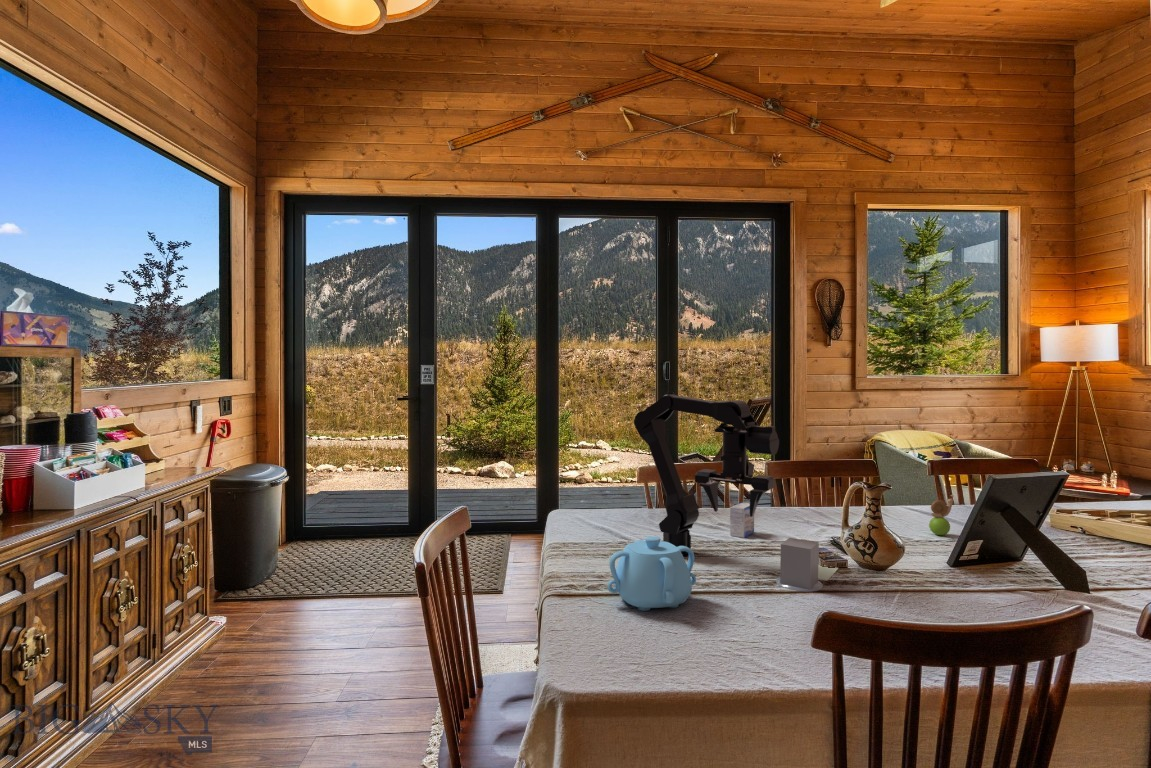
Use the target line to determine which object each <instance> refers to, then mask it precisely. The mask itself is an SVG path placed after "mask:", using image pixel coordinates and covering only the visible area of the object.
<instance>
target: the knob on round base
mask: <svg viewBox="0 0 1151 768" xmlns="http://www.w3.org/2000/svg"><path fill="white" fill-rule="evenodd" d="M775 582H776V584H777V585H778V586H780V587H782V588H784V589H787V590H790V591H795V592H796V591H797V592H809V593H810V592H817V591H821V590H822V589H823V583H822V582H821V581H819V580H818V582H817V583H816V584H815V585H814V586H813V587H812V588H811V589H810V590H809V589H804V588H799V587H794V586H790V585H785V584H780V576H779V577H777V578H776V580H775Z"/></svg>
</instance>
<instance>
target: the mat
mask: <svg viewBox="0 0 1151 768" xmlns="http://www.w3.org/2000/svg"><path fill="white" fill-rule="evenodd" d="M820 565H821V564H819V563H818V580H822V581H827V582H828V581H829V580H830V578H832V576H833V575H834V574H835V573H836V571H837V570H839V567H835V568H828V567H822V566H820Z"/></svg>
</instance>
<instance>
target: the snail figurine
mask: <svg viewBox="0 0 1151 768" xmlns="http://www.w3.org/2000/svg"><path fill="white" fill-rule="evenodd" d="M950 497H951V498H948V499H947V503H946V502H945V501H943V500H941V499H938V500H937V499H936V500H934V501H932V503H931V505H930V510H931V513H930V514H931V515H932V516H933V518H932V519H930V521H929V523H928V527H929V530H930V531H931V532H932V533H933V534H934V535H937V536H945V535H947V534H948V533H949V532H950V531H951V524H950V521H949V520H948V519H947V518H945V517H947V516H949V514H950V513H951V511H952V507H953V503H954V500H953V499H954V497H955V496H954V495H953V494H950Z"/></svg>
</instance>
